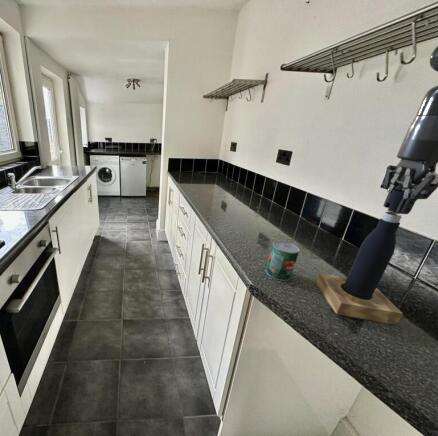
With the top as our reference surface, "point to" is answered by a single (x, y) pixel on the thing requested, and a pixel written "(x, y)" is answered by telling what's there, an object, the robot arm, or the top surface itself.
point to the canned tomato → (282, 260)
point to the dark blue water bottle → (375, 252)
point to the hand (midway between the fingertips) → (395, 210)
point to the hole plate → (357, 301)
